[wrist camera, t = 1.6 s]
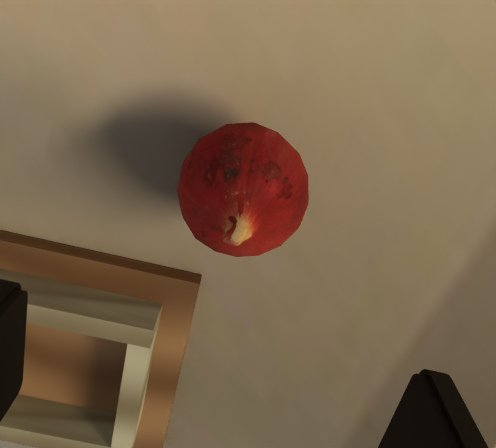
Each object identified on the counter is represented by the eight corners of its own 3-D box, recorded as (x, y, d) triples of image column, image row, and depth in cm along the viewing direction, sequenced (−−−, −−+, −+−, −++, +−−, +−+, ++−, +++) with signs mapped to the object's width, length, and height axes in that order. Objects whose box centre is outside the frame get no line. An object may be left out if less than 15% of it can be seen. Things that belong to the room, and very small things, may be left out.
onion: (183, 113, 23) (146, 160, 16) (299, 103, 23) (315, 147, 16) (198, 220, 26) (172, 303, 19) (304, 213, 25) (320, 295, 18)
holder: (-45, 220, 26) (-88, 249, 23) (201, 274, 27) (193, 310, 24) (-40, 402, 32) (-74, 446, 29) (163, 442, 33) (152, 489, 30)
